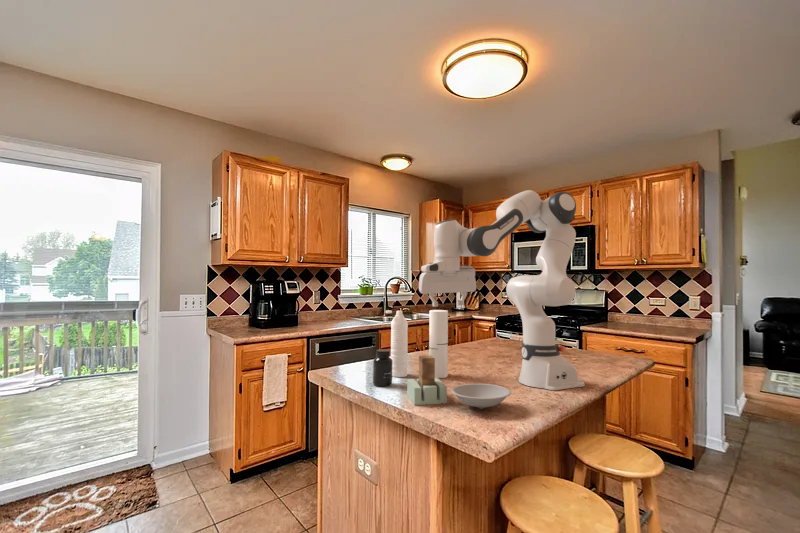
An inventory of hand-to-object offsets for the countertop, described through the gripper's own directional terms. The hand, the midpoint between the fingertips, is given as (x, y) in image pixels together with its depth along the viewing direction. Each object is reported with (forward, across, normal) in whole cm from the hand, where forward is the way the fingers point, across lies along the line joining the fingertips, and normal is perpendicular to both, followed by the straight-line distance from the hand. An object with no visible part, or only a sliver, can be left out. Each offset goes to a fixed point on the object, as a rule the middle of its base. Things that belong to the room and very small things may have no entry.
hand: (448, 305), depth 130 cm
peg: (+26, +12, +11) cm, 31 cm away
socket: (+27, +12, +11) cm, 32 cm away
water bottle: (+28, +16, -18) cm, 37 cm away
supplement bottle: (+28, +23, -7) cm, 36 cm away
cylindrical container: (+28, 0, -15) cm, 32 cm away
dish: (+28, -1, +22) cm, 36 cm away
